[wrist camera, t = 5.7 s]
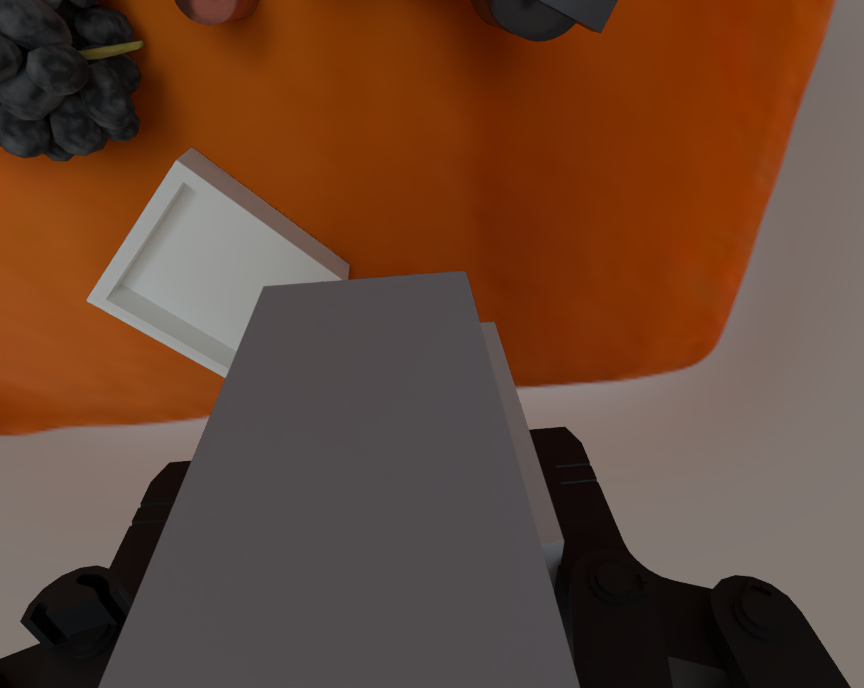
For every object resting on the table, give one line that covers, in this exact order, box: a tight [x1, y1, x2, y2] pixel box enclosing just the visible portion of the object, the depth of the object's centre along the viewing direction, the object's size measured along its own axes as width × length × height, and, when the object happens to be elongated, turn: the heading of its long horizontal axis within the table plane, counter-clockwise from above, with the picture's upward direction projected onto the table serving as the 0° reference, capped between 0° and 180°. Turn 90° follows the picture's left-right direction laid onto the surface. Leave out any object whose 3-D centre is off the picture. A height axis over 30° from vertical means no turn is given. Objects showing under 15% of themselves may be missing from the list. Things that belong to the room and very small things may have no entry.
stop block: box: [98, 271, 580, 688], centre depth 10 cm, size 5×5×10 cm
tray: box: [86, 147, 350, 378], centre depth 32 cm, size 11×11×2 cm
